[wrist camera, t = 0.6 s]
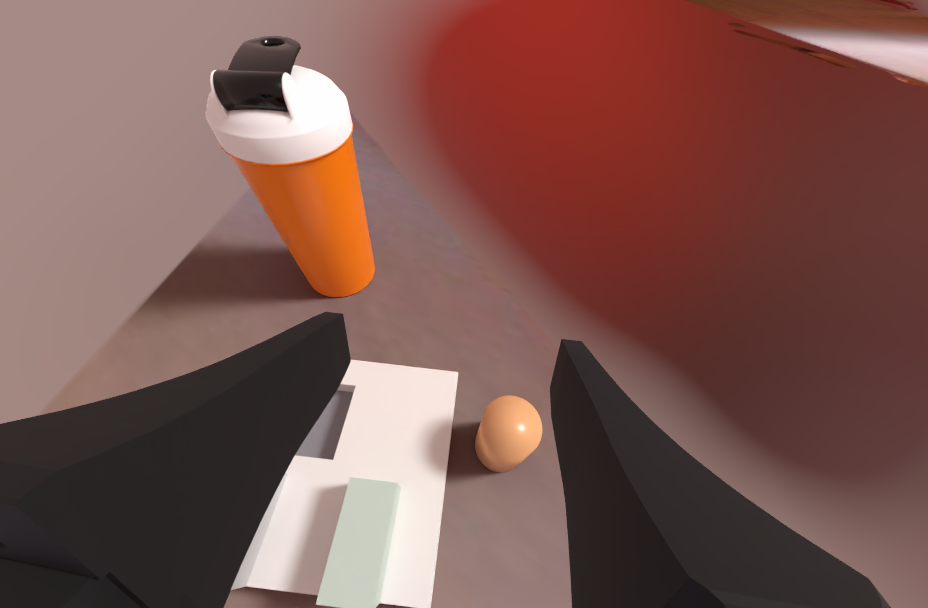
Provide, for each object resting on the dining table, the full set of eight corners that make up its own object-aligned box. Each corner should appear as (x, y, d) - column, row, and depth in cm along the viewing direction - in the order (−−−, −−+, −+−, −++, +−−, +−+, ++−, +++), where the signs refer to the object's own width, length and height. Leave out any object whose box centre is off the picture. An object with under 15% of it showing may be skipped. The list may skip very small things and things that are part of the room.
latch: (379, 603, 19) (372, 611, 17) (329, 597, 19) (315, 604, 17) (401, 487, 23) (397, 482, 21) (358, 482, 23) (350, 477, 21)
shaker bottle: (380, 239, 39) (337, 30, 23) (387, 298, 34) (337, 85, 18) (302, 248, 38) (196, 30, 21) (297, 311, 33) (154, 91, 17)
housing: (431, 603, 21) (428, 618, 17) (184, 572, 21) (130, 580, 17) (457, 381, 30) (459, 359, 26) (282, 360, 30) (260, 336, 26)
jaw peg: (523, 475, 25) (543, 461, 21) (472, 469, 25) (480, 453, 21) (523, 423, 28) (541, 399, 23) (476, 417, 28) (484, 392, 23)
